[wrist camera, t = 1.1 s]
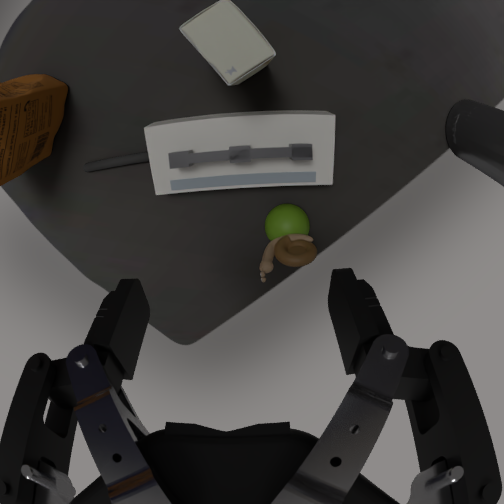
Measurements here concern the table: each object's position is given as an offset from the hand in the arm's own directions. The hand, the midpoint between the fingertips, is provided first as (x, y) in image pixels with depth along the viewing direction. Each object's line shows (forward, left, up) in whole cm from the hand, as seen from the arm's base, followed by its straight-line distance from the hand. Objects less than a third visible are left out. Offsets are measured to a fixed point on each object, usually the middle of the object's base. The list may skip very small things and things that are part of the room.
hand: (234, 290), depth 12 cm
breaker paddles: (0, 0, -21) cm, 21 cm away
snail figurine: (-4, +10, -25) cm, 27 cm away
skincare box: (0, -11, -25) cm, 27 cm away
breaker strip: (+5, 0, -25) cm, 25 cm away
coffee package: (+27, -9, -25) cm, 38 cm away
